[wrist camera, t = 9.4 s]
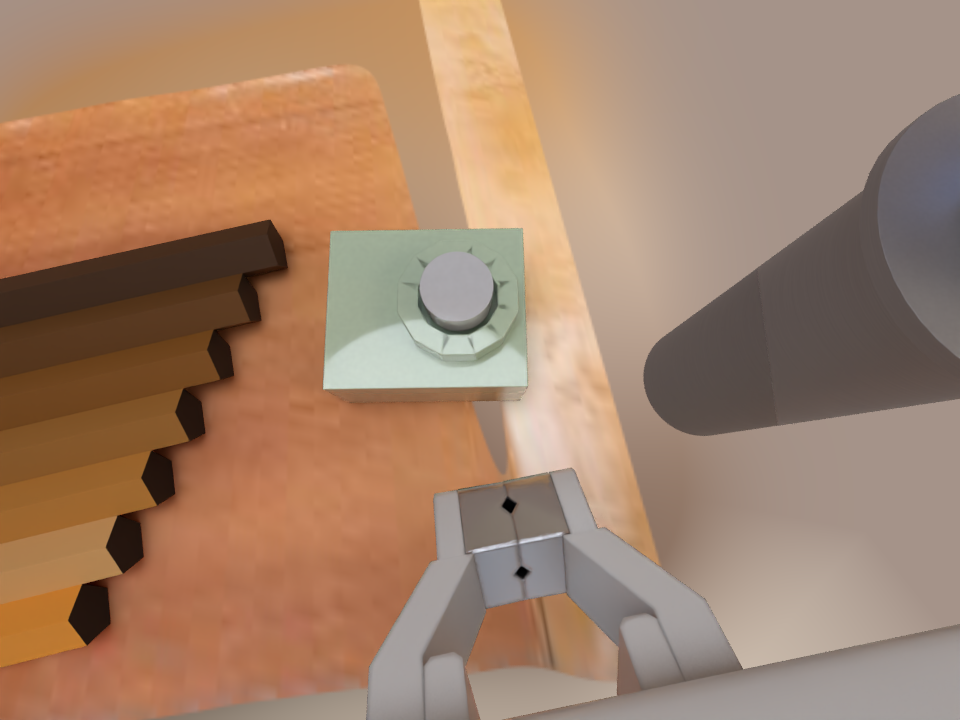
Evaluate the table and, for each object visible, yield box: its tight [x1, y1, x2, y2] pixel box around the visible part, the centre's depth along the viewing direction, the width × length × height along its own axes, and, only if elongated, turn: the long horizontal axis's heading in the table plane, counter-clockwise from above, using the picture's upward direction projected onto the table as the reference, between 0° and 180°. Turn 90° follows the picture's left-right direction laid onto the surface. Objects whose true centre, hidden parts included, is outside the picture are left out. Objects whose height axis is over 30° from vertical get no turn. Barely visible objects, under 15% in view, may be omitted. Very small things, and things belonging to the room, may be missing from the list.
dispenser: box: [323, 228, 528, 403], centre depth 33 cm, size 12×10×8 cm
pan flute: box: [0, 220, 288, 668], centre depth 34 cm, size 25×3×25 cm
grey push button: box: [419, 252, 494, 331], centre depth 29 cm, size 4×4×2 cm
